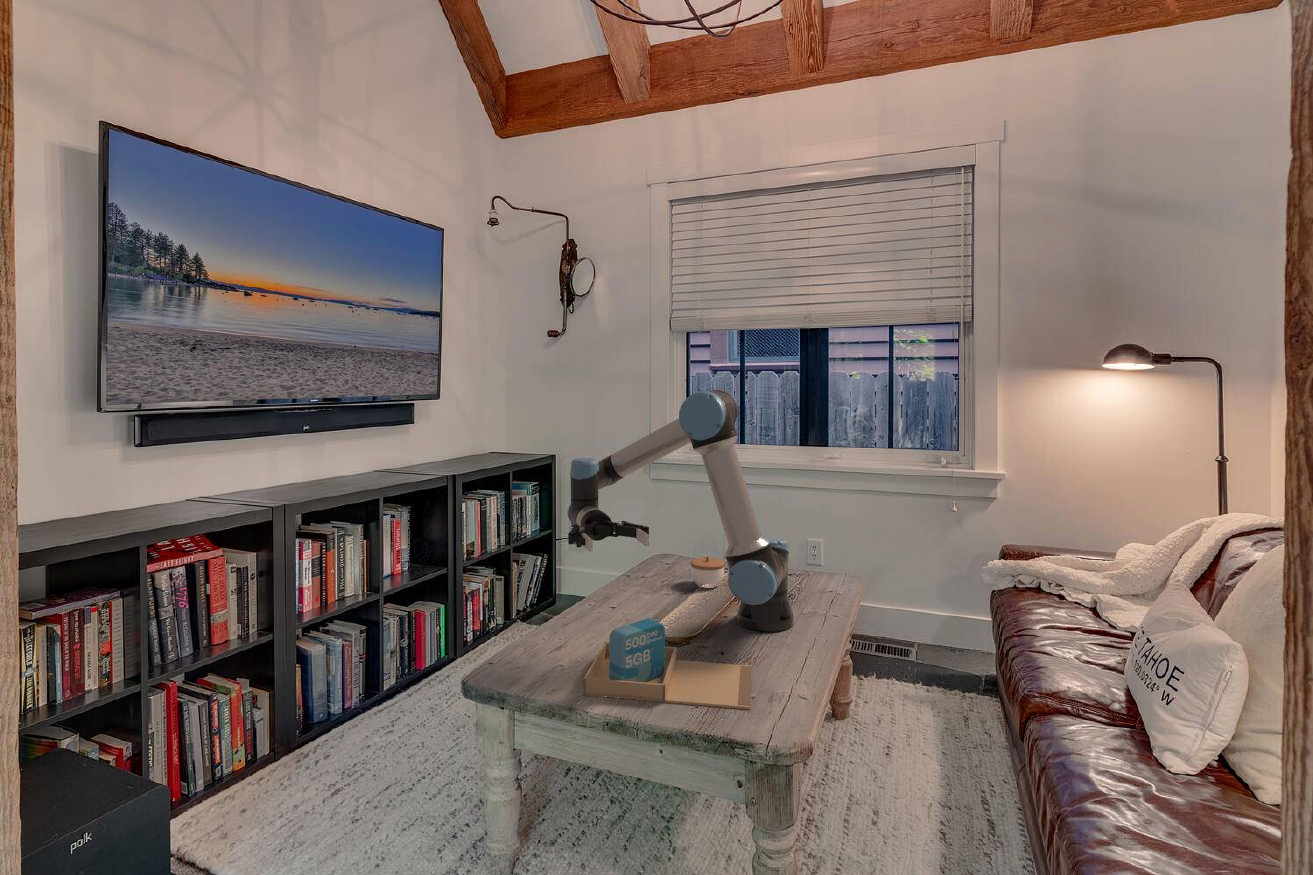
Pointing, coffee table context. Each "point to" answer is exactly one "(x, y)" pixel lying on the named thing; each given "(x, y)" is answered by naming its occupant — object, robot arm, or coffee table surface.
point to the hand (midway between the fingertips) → (619, 543)
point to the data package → (637, 651)
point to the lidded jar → (707, 570)
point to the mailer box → (676, 682)
